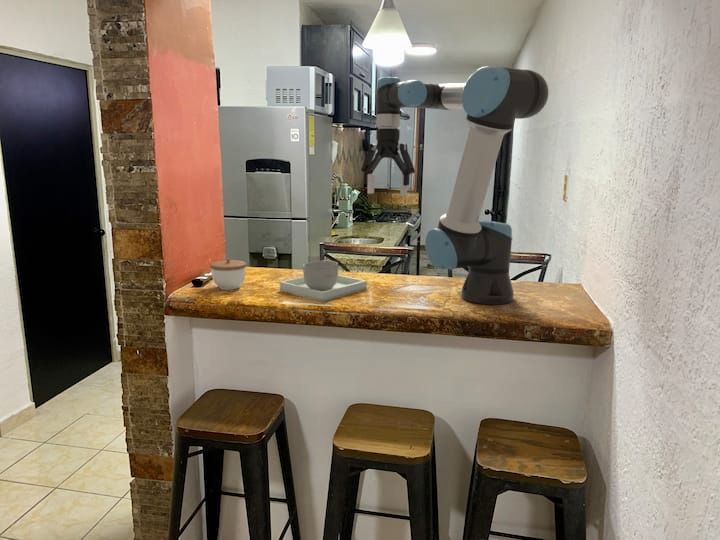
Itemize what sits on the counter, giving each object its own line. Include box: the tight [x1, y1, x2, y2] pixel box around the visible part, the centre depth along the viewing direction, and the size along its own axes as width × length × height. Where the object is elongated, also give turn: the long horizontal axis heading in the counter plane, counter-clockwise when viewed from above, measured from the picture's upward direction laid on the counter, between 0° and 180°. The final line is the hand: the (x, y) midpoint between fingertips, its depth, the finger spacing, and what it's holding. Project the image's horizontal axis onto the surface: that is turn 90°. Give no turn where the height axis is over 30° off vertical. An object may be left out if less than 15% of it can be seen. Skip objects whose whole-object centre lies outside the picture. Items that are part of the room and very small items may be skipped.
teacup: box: [302, 259, 339, 291], centre depth 166 cm, size 14×11×8 cm
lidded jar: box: [210, 257, 247, 291], centre depth 168 cm, size 11×11×9 cm
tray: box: [279, 274, 368, 303], centre depth 167 cm, size 19×20×3 cm
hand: (386, 194), depth 177 cm, fingers open, 13 cm apart
